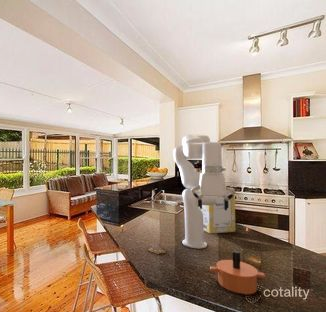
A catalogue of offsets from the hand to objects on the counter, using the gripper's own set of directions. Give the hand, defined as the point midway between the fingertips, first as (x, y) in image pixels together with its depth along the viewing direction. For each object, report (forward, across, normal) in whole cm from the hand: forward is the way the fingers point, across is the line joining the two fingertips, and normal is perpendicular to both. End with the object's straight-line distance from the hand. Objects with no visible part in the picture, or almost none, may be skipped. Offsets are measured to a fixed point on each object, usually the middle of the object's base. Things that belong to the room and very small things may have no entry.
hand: (212, 209), depth 102 cm
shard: (+26, +26, -13) cm, 39 cm away
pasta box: (+26, -10, -60) cm, 66 cm away
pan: (+26, -6, +12) cm, 30 cm away
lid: (+20, -6, +12) cm, 24 cm away
